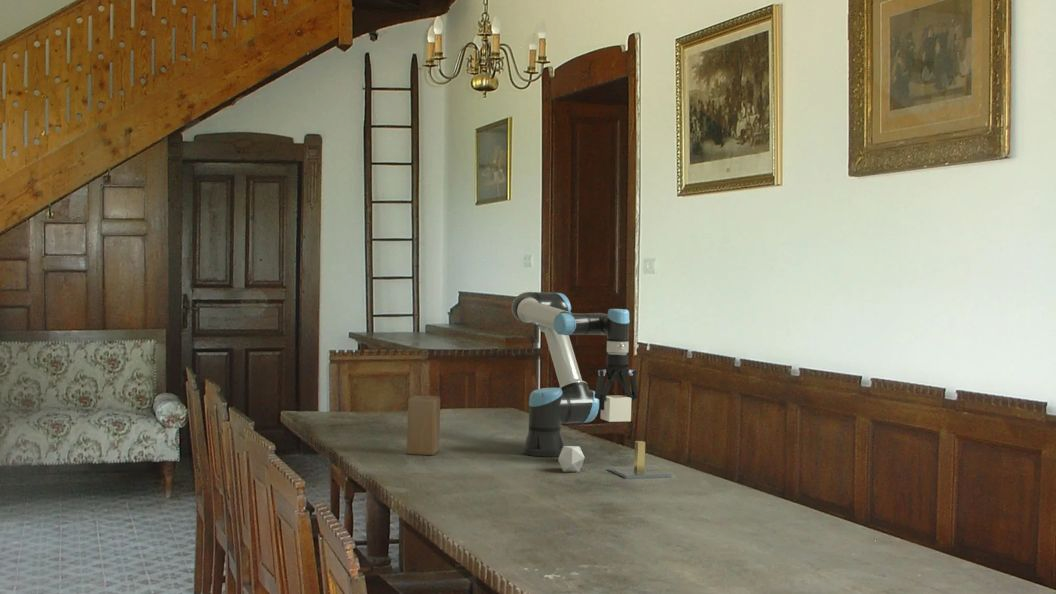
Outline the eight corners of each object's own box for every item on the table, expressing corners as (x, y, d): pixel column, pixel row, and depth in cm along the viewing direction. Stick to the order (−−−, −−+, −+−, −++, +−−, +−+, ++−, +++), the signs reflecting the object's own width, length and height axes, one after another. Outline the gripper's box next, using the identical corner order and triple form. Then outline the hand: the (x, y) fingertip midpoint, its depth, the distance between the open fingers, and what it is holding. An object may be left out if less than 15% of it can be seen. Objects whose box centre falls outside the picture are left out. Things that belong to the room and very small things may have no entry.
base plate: (626, 478, 353) (627, 446, 353) (607, 469, 368) (608, 438, 368) (671, 477, 358) (672, 445, 358) (651, 468, 373) (652, 437, 373)
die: (575, 476, 358) (591, 451, 361) (552, 461, 359) (568, 436, 362) (573, 481, 366) (589, 456, 369) (551, 466, 367) (567, 441, 370)
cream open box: (609, 421, 376) (609, 397, 376) (600, 418, 383) (601, 394, 383) (630, 421, 378) (631, 397, 378) (621, 418, 386) (622, 394, 386)
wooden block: (439, 451, 395) (440, 396, 395) (434, 456, 385) (435, 399, 385) (411, 450, 396) (413, 394, 396) (406, 454, 386) (407, 397, 386)
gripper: (593, 354, 374) (591, 421, 374) (649, 354, 380) (647, 420, 380) (585, 352, 381) (583, 418, 381) (640, 352, 387) (639, 417, 388)
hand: (615, 419), depth 381 cm, fingers closed on cream open box, 8 cm apart
